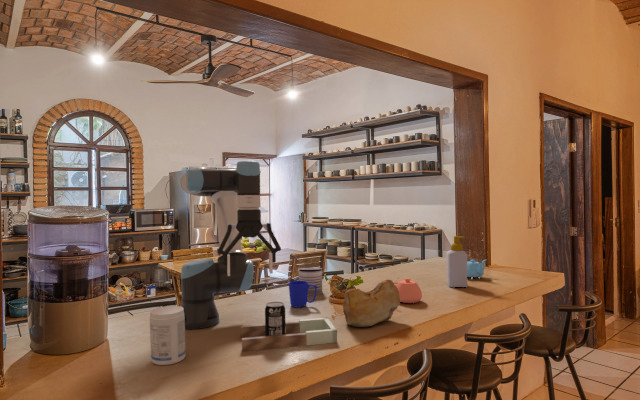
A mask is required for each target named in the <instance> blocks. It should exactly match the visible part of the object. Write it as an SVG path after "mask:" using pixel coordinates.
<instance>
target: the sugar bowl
mask: <svg viewBox="0 0 640 400" xmlns="http://www.w3.org/2000/svg"><path fill="white" fill-rule="evenodd" d="M393 283H394V285H395V284H396V287H397V288H398V291H399V295H400V302H403V303H402V304H406V303H407V304H411V303H415V304H416V303H419V302H420V301H421V300H422V298H423V293H422V290H421V287H420V286H419V284H418V283H417V281H415V280H411V278H410V277H406V278H404V280H399V281H393Z"/></svg>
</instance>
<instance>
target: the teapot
mask: <svg viewBox="0 0 640 400" xmlns="http://www.w3.org/2000/svg"><path fill="white" fill-rule="evenodd" d="M469 260H470V261H467V277H468V278H470V277H474V278H477V277H481V278H482V277H483V276H484V274H485V271H484V270H485V265H486V264H485V263H486V262H487V259H483V260H482V262H478V261H476V260H475V259H469Z"/></svg>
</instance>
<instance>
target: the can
mask: <svg viewBox="0 0 640 400" xmlns="http://www.w3.org/2000/svg"><path fill="white" fill-rule="evenodd" d="M298 281H306V282H308V284H310V285H317V291H316V295H321V294H322V293H323V268H322V267H321V268H320V267H302V268H301V267H299V269H298ZM314 295H315V287H313V286H310V287H309V288H308V296H314Z"/></svg>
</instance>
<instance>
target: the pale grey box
mask: <svg viewBox="0 0 640 400" xmlns="http://www.w3.org/2000/svg"><path fill="white" fill-rule="evenodd" d="M298 321H299V322H300V333H306V340H307V345H306V346H312V345H313V346H314V345H324V344H325V345H326V344H333V343H338V329H337V328H336V327H335V325H333V323H332V322H331V320H330V319H329V318H328V317H320V318H319V317H317V318H307V319H305V318H304V319H299V320H298Z"/></svg>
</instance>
